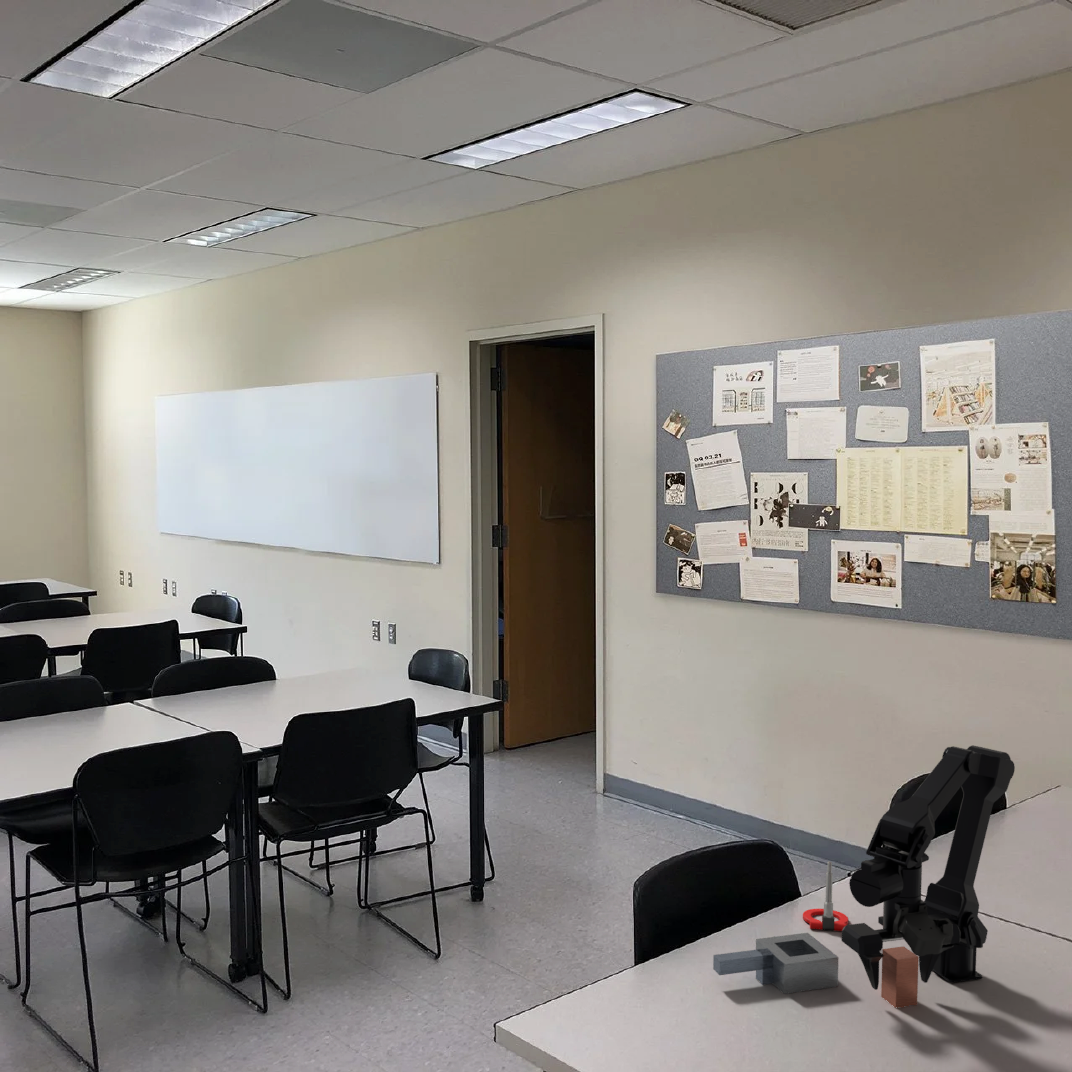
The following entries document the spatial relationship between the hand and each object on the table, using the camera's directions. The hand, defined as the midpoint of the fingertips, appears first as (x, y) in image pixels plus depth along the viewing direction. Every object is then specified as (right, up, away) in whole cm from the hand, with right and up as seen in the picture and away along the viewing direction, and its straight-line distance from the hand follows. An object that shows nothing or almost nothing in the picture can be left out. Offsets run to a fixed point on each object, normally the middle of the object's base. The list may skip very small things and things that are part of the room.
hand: (899, 985), depth 179 cm
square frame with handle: (-20, -2, +7) cm, 21 cm away
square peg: (0, -3, 0) cm, 3 cm away
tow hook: (-4, -1, +31) cm, 32 cm away
